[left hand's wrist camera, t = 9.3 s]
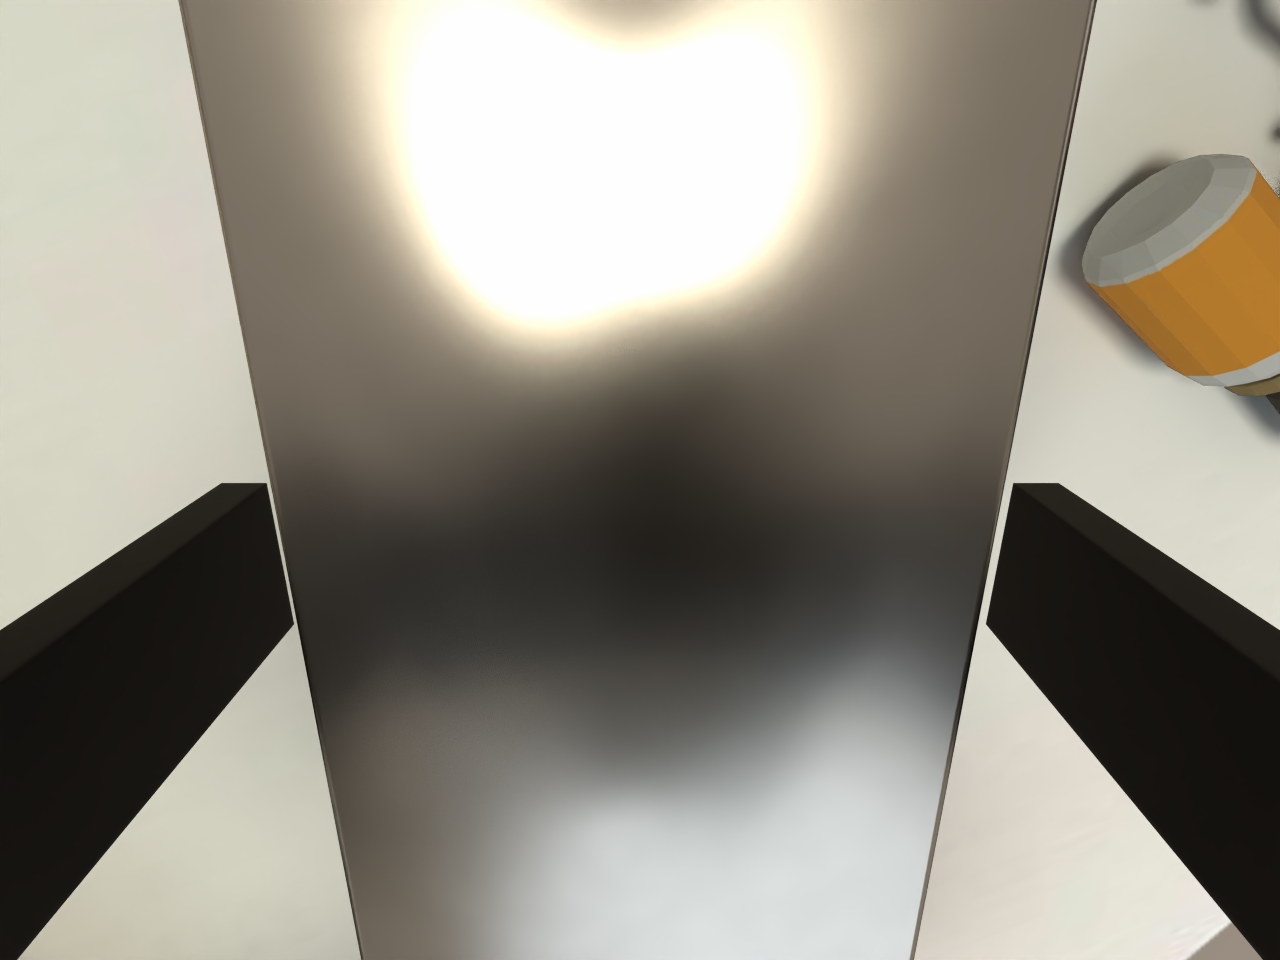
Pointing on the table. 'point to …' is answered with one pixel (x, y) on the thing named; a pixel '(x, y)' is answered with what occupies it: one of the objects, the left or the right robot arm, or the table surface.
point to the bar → (637, 440)
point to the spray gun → (1198, 271)
